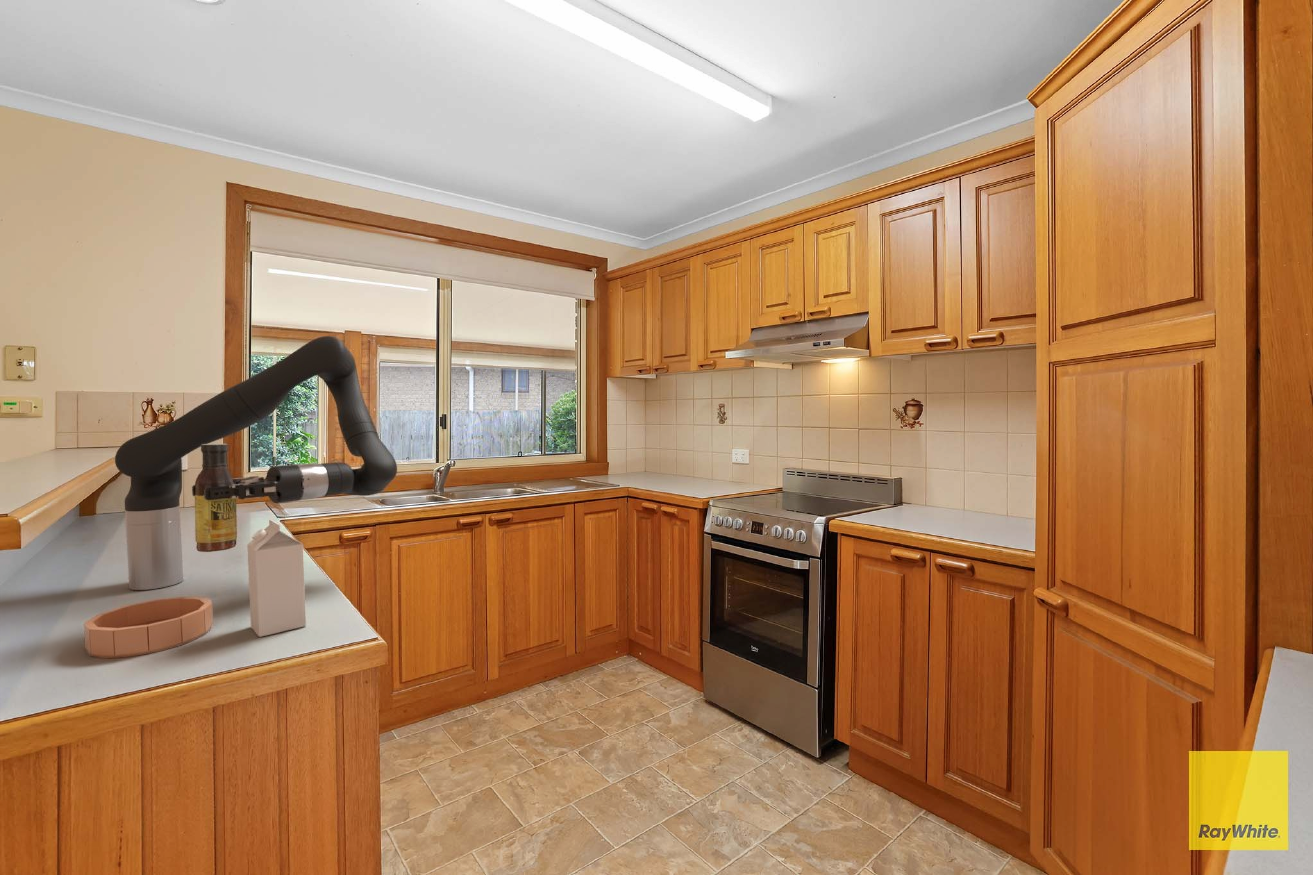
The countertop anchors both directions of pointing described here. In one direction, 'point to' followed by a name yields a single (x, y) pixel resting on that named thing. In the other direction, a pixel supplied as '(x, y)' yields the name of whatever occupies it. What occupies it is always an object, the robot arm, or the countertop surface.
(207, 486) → the sauce bottle
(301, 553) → the milk carton
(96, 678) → the countertop surface
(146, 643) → the terracotta bowl
